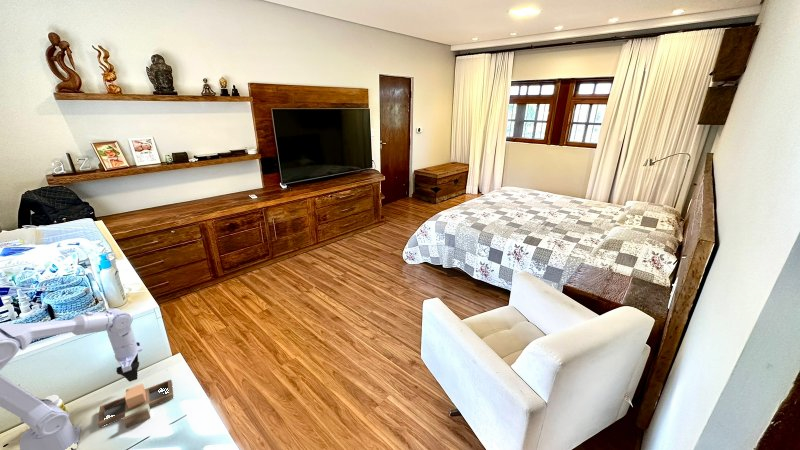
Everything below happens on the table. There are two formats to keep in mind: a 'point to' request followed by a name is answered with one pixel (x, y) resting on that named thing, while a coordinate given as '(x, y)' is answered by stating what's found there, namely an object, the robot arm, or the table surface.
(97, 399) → the table surface
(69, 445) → the robot arm
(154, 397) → the board
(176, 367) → the table surface
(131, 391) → the block
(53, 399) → the supplement bottle
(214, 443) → the table surface
